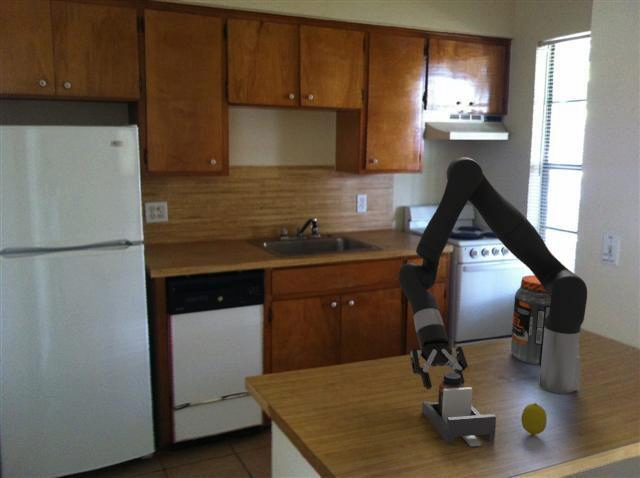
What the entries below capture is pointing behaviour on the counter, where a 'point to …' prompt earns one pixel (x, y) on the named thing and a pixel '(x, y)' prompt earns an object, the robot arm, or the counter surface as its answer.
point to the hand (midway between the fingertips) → (445, 387)
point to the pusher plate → (458, 407)
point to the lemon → (534, 419)
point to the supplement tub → (529, 320)
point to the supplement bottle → (449, 382)
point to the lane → (460, 423)
